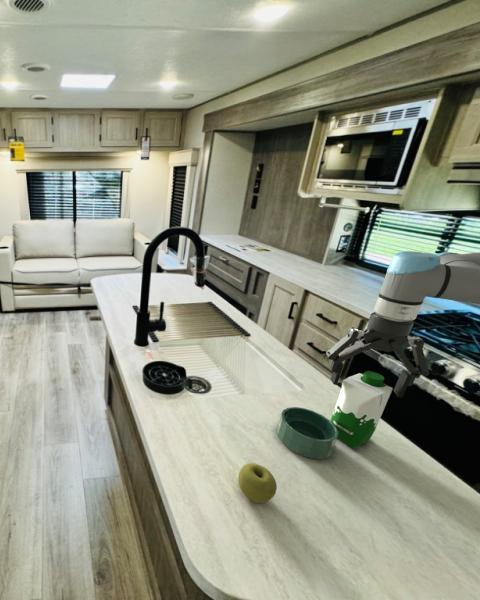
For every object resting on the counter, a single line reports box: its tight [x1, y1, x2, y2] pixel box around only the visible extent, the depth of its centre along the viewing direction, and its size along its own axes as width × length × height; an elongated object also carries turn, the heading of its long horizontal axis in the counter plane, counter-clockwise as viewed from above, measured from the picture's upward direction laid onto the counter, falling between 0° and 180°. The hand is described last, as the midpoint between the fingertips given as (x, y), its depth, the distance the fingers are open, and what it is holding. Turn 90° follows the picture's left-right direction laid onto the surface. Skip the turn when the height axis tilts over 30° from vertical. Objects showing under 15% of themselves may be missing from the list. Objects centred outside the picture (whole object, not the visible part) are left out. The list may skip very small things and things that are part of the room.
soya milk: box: [330, 370, 394, 449], centre depth 86 cm, size 9×9×20 cm
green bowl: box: [276, 406, 338, 460], centre depth 87 cm, size 13×13×6 cm
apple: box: [238, 462, 278, 504], centre depth 72 cm, size 8×8×7 cm
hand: (364, 388), depth 83 cm, fingers open, 13 cm apart
